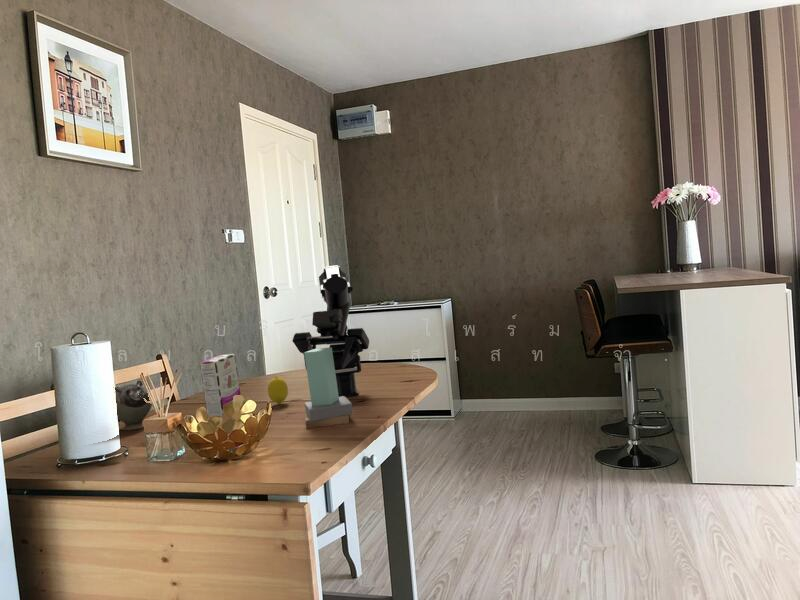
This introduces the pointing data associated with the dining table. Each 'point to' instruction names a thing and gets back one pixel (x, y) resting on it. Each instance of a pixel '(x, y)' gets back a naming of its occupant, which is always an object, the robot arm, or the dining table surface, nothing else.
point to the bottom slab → (327, 421)
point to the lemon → (277, 390)
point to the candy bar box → (219, 382)
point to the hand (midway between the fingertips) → (324, 368)
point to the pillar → (321, 376)
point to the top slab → (329, 409)
